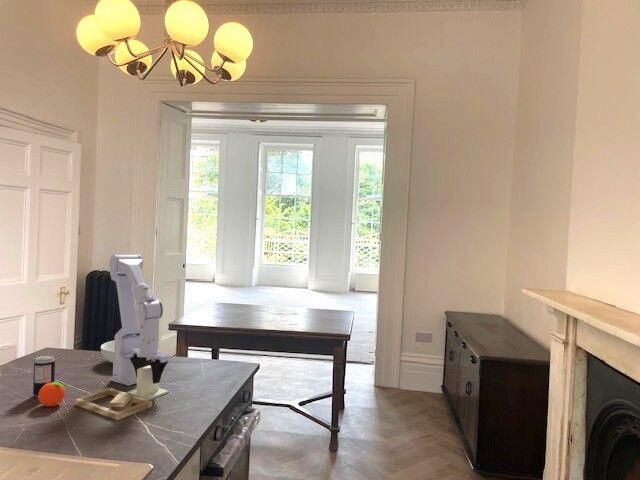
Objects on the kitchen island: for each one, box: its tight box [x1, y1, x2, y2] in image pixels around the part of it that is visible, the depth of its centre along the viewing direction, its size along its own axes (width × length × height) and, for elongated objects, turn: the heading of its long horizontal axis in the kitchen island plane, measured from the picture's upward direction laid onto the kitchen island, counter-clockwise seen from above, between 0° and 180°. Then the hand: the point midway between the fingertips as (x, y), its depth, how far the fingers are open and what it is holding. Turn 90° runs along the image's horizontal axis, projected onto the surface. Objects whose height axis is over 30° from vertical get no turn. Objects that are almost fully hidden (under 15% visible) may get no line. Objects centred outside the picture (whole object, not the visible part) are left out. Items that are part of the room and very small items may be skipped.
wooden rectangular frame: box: [75, 387, 153, 421], centre depth 140 cm, size 19×12×2 cm, turn 61°
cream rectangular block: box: [136, 364, 160, 395], centre depth 150 cm, size 2×7×8 cm, turn 151°
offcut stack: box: [109, 394, 133, 412], centre depth 137 cm, size 4×7×4 cm, turn 3°
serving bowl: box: [100, 339, 150, 364], centre depth 182 cm, size 21×21×7 cm
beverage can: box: [32, 354, 56, 399], centre depth 145 cm, size 6×6×12 cm
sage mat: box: [125, 387, 170, 401], centre depth 150 cm, size 10×8×1 cm
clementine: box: [38, 381, 67, 407], centre depth 138 cm, size 8×7×7 cm
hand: (148, 380), depth 150 cm, fingers open, 7 cm apart
